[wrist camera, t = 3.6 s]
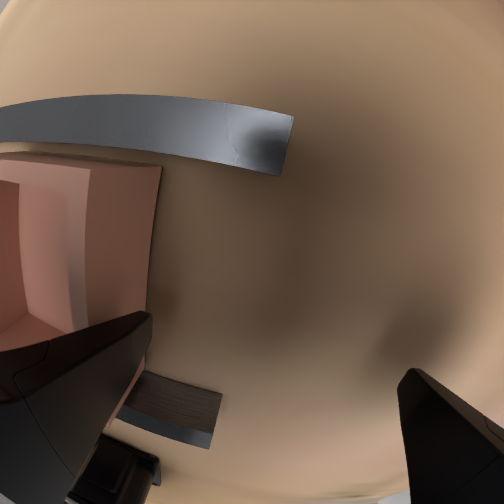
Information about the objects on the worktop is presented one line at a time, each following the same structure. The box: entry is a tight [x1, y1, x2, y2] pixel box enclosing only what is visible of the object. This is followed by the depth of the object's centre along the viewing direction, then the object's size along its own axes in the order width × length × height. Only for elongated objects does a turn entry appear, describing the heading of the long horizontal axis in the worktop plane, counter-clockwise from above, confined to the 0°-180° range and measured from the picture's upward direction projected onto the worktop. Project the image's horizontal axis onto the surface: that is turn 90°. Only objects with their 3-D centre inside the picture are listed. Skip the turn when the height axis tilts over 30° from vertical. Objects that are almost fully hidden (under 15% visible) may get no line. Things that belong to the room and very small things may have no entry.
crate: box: [0, 151, 162, 427], centre depth 8 cm, size 9×8×4 cm
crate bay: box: [0, 94, 294, 449], centre depth 9 cm, size 13×23×2 cm, turn 77°
